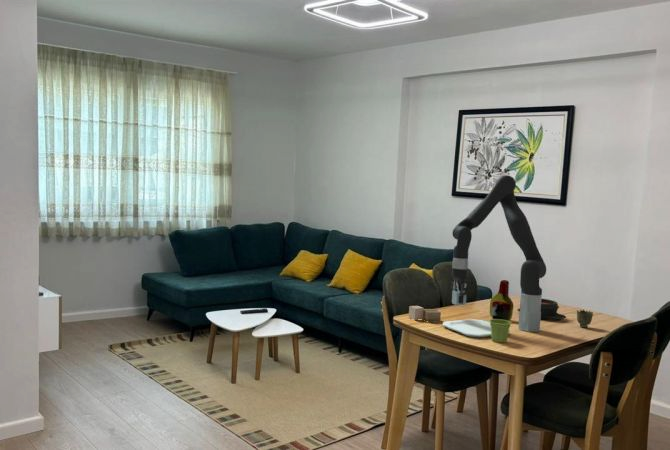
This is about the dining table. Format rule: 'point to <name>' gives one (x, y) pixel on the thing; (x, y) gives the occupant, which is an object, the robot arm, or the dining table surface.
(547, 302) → the casserole
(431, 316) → the walnut block
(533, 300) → the robot arm
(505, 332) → the plant pot
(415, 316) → the pale pinkish block
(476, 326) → the plate
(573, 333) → the dining table surface
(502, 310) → the bottle
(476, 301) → the dining table surface
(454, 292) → the grey cube
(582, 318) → the cup
